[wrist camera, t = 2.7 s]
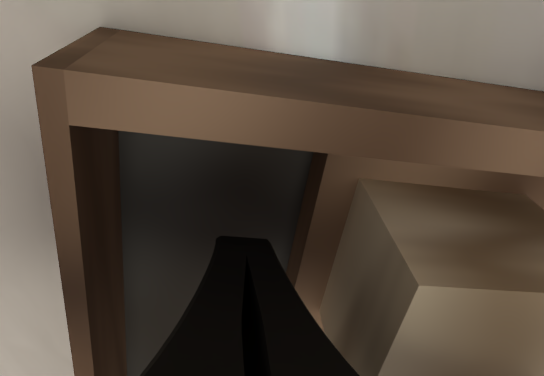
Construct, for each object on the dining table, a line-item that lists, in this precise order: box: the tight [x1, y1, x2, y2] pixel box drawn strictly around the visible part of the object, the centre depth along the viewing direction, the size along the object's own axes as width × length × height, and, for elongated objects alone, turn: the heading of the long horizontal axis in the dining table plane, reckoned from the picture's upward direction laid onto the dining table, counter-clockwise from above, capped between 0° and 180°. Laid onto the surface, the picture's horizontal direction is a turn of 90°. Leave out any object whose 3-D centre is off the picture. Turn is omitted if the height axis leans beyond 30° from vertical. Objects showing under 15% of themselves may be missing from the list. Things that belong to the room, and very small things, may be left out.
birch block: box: [319, 178, 544, 376], centre depth 11 cm, size 5×5×4 cm
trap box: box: [32, 27, 544, 376], centre depth 15 cm, size 26×17×4 cm, turn 81°
